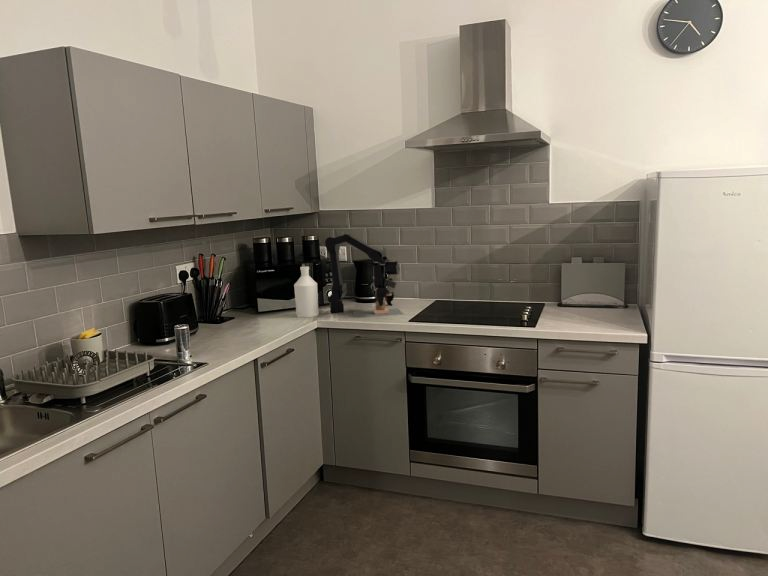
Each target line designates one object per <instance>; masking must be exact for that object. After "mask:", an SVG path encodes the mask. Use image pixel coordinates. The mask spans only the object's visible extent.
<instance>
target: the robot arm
mask: <svg viewBox="0 0 768 576" xmlns="http://www.w3.org/2000/svg"><path fill="white" fill-rule="evenodd" d="M344 243H347V244H349V245H351V246H352V247H354V248H356V249H358V250H359V251H360V252H363V253H365V255H366V256H367V257H368V258H369V259H370V260H371V262H370V263H369V264H368V266H369V267H372V273H373V275H372V279H373V282H372V283H371V284H370V289H371V290H372V294H373V296H374V297H375V301H378V302H379V305H380V306H382V304H383V301H384V300H385V298H384V296H385V295H386V294H387V293H389V291H390V290H389V288H388V287H390V288H392V289H396V285H397V282H396V281H395V280H393V278H391V277H389V278H387V277H386V275H390V276H391V275H392V276H393V275H396V276H398V275H400V272H401V271H400V270H401V269H400V268H401V267H400V264H399V261H398V260H393V261H390V260H389V258H388V257H387V256H386V253H385V250H383V249H381V248H378V247H374V246H372V245H369V244H367V243H366V242H364V241H363V240H361V239H359V238H357V237H355V236H353V235H352V234H351V233H344V234H342V235H340V236H336V235H333V236H329V237H327V238H326V239H325V240H324V244H325V248H326V251H327V253H328V255H329V260H330V269H331V276H332V285H331V294H330V295H329V296H328V297H327V302H328V303H329V313H330V314H331V315H332V314H343V313H344V312H345V308H344V302H343V300H344V297H345V296H346V295H347V292H348V288H347V283H344V281H343V279H342V270H341V264H340V255H339V253H340V248H341V244H344ZM385 274H386V275H385Z"/></svg>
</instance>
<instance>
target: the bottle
mask: <svg viewBox="0 0 768 576" xmlns="http://www.w3.org/2000/svg"><path fill="white" fill-rule="evenodd" d="M299 270H300V273H301V274H300V277H299V278H298V279H297V281H296V282H295V283H294V284H293V287H294V299H295V300H294V301H295V311H296V312H295V313H296V317H297V316H298V318H312V317H317V316H319V314H320V313H319V293H318V291H319V289H318V282H316V281H315V280H314V279H313V278H312V277H311V276H310V271H309V270H310V266H300V269H299Z"/></svg>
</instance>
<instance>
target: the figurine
mask: <svg viewBox="0 0 768 576" xmlns="http://www.w3.org/2000/svg"><path fill="white" fill-rule="evenodd" d="M394 298H395V293H394V291H393V290H389V293H387V294H386V295H385V296H384V301H385V303H386V306H390V305H391V306H392V307H393V303H392V302H393V300H394Z"/></svg>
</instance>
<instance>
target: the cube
mask: <svg viewBox="0 0 768 576" xmlns="http://www.w3.org/2000/svg"><path fill="white" fill-rule="evenodd" d="M385 308H386V301H385V300H383V304H382V306H380V305H379V302H378V301H377V300H375V309H377V310H385Z"/></svg>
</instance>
